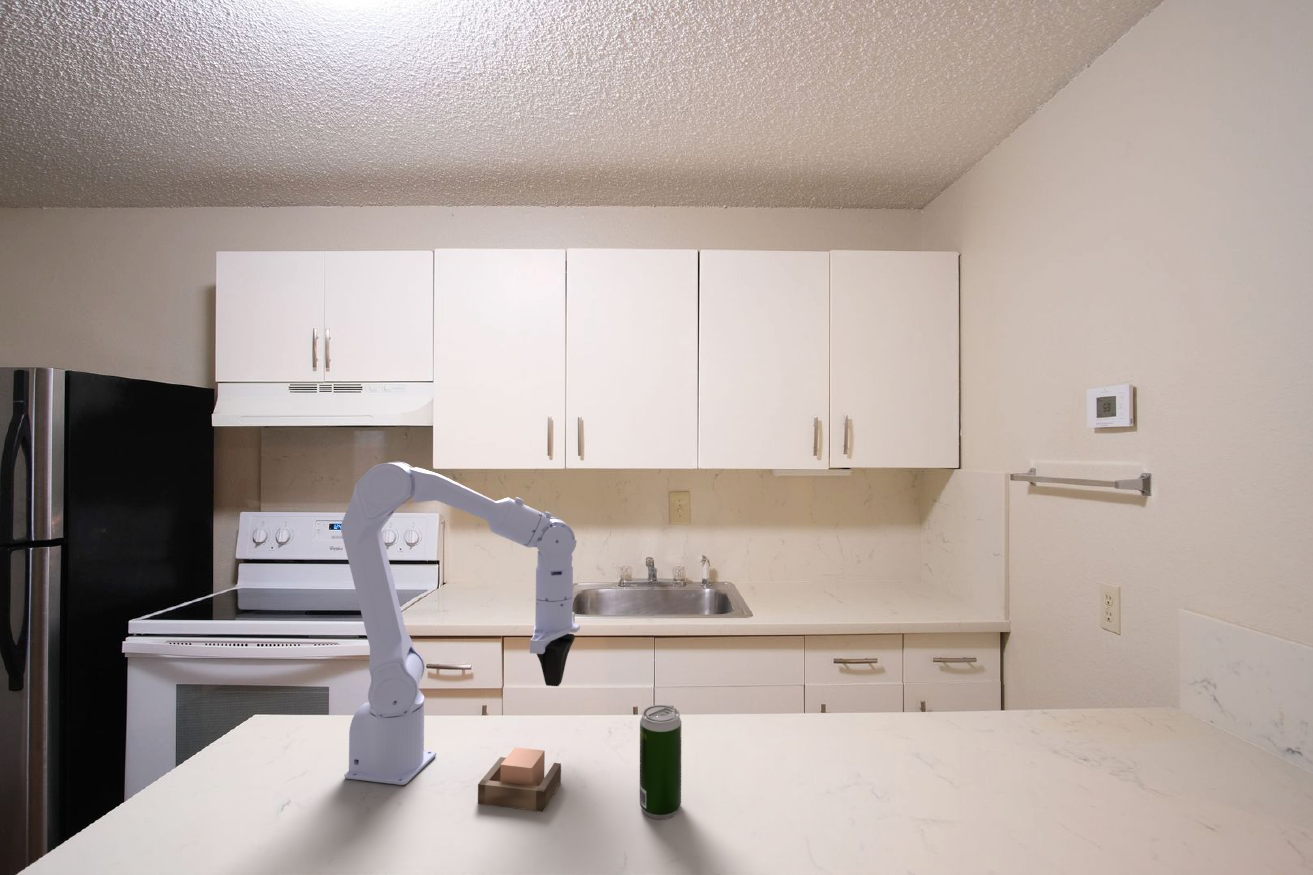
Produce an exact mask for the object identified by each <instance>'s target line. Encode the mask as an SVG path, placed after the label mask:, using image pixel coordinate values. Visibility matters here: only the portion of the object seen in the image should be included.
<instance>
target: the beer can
mask: <svg viewBox="0 0 1313 875" xmlns="http://www.w3.org/2000/svg"><path fill="white" fill-rule="evenodd" d="M680 715H681V714H680V711H679V710H678V709H677V708H676V707H674V706H670V705H666V704H655V705H650V706H647V707H646V708H644V709H643V710H642V712H641V717H640V720H639V806H640V808H641V811H642V813H643V814H644V815H645V816H647V817H649V818H651V819H653V820H667V819H671V818H673V817H674V816H675V815H677V813H678V812H679V809H681V805H682V720H681V718H680V717H681V716H680Z"/></svg>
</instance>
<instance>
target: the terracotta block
mask: <svg viewBox="0 0 1313 875" xmlns="http://www.w3.org/2000/svg"><path fill="white" fill-rule="evenodd" d="M545 753H546V751H545V750H543V749H532V748H525V747H524V748H523V747H516V746H515V747H514V748H513V749H512V750H511V751H510V753H509V754H508V755H507V757H505V758H506V759H505V760H504V761H503V762H502V763H501V773H500V782H508V783H516V784H525V785H534V786H540V784H541V783H542V781H543V779H544V778H545V767H546V765H545V762H546V761H545V756H546V754H545Z"/></svg>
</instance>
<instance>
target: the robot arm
mask: <svg viewBox="0 0 1313 875" xmlns="http://www.w3.org/2000/svg"><path fill="white" fill-rule="evenodd" d="M412 497H413V498H412ZM411 498H412V503H414V504H415V503H422V502H423V503H424V502H432V501H433V502H435V501H437V502H440V503H441V504H445V505H447V506H449V507H453V508H455V509H457V510H459V511H463V512H465V513H466V514H471V515H473V516H475V517H478V518H480V519H482V520H486V521H487V524H488V527H489V530H490V531H491V533H493V534H496V535H498V536H500V537H503V538H505V539H508V540H509V541H512V542H515V543H517V544H519V545H521V546H524V547H525V548H529V549H530V548H537V550H538V551H537V566H536V567H535V617H534V618H535V620H534V621H535V624H534V625H533V634H532V637H531V638H530V640H529V653H530V654H536V657H537V658H538V661H539V662H540V667H541V670H542V675H543V679H544V682H545V683H544V684H545V685H546V687H547V686H548V687H559V686H560V685H561V683H562V681H563V677H564V672H565V668H566V667H565V666H566V664H567V659H568V655H569V653H570V650H571V647H572V645H573V644H574V641H575V638H576V635H575V634H574V633H577V632H578V631H580V629H581V625H580V624H577V623H575V612H574V611H573V606H574V605H573V604H574V603H573V601H574V600H573V597H574V596H573V591H574V590H573V588H574V587H573V586H574V585H573V584H574V582H573V581H574V578H573V577H574V576H573V575H574V566H573V565H572V564H573V563H572V562H573V553H574V551H575V549H576V547H577V539H576V536H575V533H574V531H573V529H572V528H571V527H570V526H569V525H568V524H567V523H566V522H565V521H563V520H562V519H560V517H557V516H553V514H552V513H551V512H549V511H545V512H544V513H543V512H541V511H539V510H538V509H535V508H533V507H530V506H528V505H526V504H524V503H525V501H524V499H523V498H520V497H518V496H516V497H515V498H514V499H512V498H511V497H505V498H502V499H499V500H496V501H495V500H494V499H492V498H490V497H487V496H485V495H484V494H482V493H479V492H477V491H476V490H475V491H474V490H473V489H471V488H469V487H466V486H465V485H462V484H461V483H459V482H457V481H454V480H452V479H451V478H448V477H446V476H444V475H442V474H440V473H436V472H434V471H430V470H427V469H425V468H420V467H417V466H416V467H413V466H411V465H410V464H408V463H406V462H404V461H402V462H401V461H391V462H384V463H379V464H376V465H374V466H373V467H371V468H370V469H369V470H367V472H366V473H365V474H364V475H363V476H362V477H361V478H360V479H359V480H358V481H357V482H356V483H355V484H354V487H353V493H352V496H351V499H350V501H349V504H348V506H347V509H346V511H345V513H344V516H343V519H342V521H341V524H340V532H341V536H342V539H343V544H344V549H345V552H346V556H347V560H348V564H349V568H350V572H351V577H352V580H353V585H354V588H355V592H356V597H357V601H358V604H359V605H358V606H359V609H360V612H361V613H360V614H361V618H362V621H363V625H364V630H365V634H366V637H367V641H368V645H369V661H368V662H369V663H368V670H369V676H370V686H369V688H368V692H367V699H368V701H367V702H364V703H363V704H362V705H360V706H359V707H358V709H357V710H356V712H355V713H354V714H353V717H352V719H351V723H350V726H349V732H348V733H349V734H348V737H349V738H348V739H349V743H348V771H346V773H345V774H344V778H345V779H350V780H358V781H363V782H364V781H367V782H373V783H381V784H382V783H383V784H389V785H390V784H392V785H400V786H404V785H407V784H408V783H409V782H410V781H411V780H412V779H413V778H414V777H415V776H417V774H418V773H419V772H420V771H422V770H423V768H425V767H426V766H427V765H428V764H429V763H430V762H431V761H432V760H433V759H434V758H435V757H436V756H437V752H436V751H434V750H425V696H424V694H423V693H422V691H421V690H420V688H419V686H420V684H421V680H422V678H423V676H424V673H425V670H426V669H425V661H424V658H423V657H422V655H421V654H420V653H419V652H418V651H417V650H416V648H415V646H414V645H413V640H412V638H411V637H410V635H409V633H408V632H407V630H406V625H405V621H404V618H403V614H402V610H401V606H400V605H401V604H400V601H399V598H398V597H399V596H398V593H397V589H396V584H395V580H394V576H393V572H392V569H391V564H390V560H389V556H388V552H387V548H386V543H385V539H384V535H383V528H384V527H385V525H386V524H387V522H388V521H389V519H390V518H391V517H392V516H393V514H394V512H395V511H396V510H397V509H398V508H400V507H401V506H402V505H404V504H405V503H407V502H408V501H409V500H410V499H411Z"/></svg>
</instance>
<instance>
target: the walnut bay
mask: <svg viewBox="0 0 1313 875" xmlns="http://www.w3.org/2000/svg"><path fill="white" fill-rule="evenodd" d="M505 759H506V757H503V756H500V757H499V758H498V759H497V761H495V763H494V764H493V765H492V766H491V768H490V769H489V770H488V771H487V772H486V774H485V775H484V776H483V778H482V779H480V781H479V782H478V784H477V804H480V805H487V806H495V807H505V808H513V809H520V810H529V811H536V812H537V811H538V812H544V811H545V810H546V808H547V806H548V805H549V803H550V802H551V800H552V798H553V796H554V794H555V792H557V789H558V787H559V786H560V784H561V782H562V763H561V762H560V763H558V762H554V763H553V764H552V766H551V768H550V769H549V770H548V772H547V773H546V775H544V779H543V781H542V783H541V784H540V786H534V785H525V784H516V783H508V782H500V773H501V763H502V762H503V761H504V760H505Z"/></svg>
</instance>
